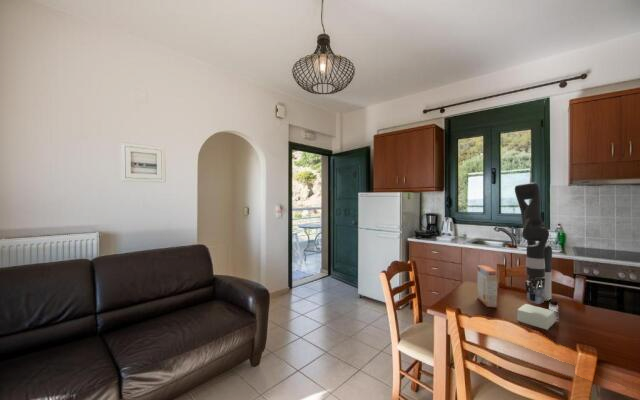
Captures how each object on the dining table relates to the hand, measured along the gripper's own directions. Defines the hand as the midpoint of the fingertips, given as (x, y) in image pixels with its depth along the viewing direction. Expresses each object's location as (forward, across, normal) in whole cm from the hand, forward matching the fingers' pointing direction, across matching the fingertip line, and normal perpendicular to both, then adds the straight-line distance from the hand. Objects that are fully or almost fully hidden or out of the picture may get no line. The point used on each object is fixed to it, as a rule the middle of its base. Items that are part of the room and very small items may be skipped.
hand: (535, 299), depth 136 cm
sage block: (+11, 0, 0) cm, 11 cm away
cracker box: (+11, -2, -26) cm, 28 cm away
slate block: (+1, 0, 0) cm, 1 cm away
